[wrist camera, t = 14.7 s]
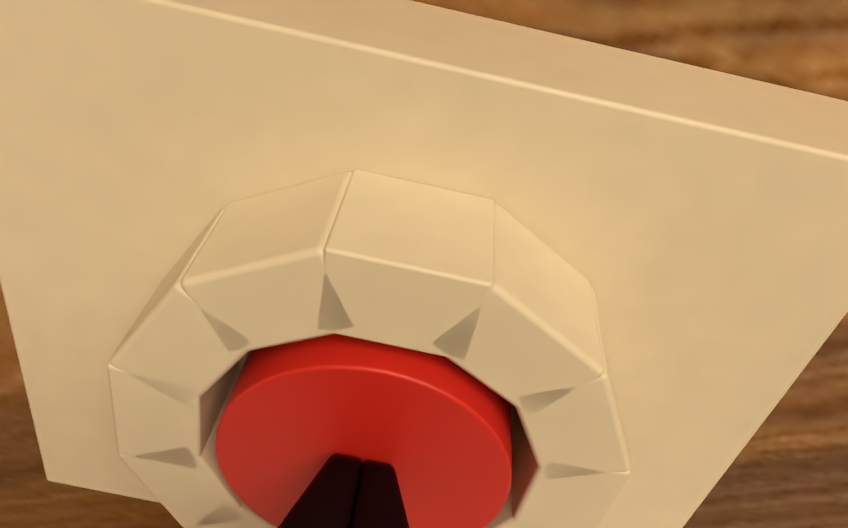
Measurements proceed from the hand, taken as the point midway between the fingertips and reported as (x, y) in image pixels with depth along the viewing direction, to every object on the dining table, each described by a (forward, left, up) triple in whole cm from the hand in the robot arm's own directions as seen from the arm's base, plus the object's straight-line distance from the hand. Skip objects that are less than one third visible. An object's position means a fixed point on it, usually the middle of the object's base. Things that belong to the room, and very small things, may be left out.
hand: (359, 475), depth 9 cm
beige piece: (0, 0, -4) cm, 4 cm away
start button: (0, 0, -2) cm, 2 cm away
